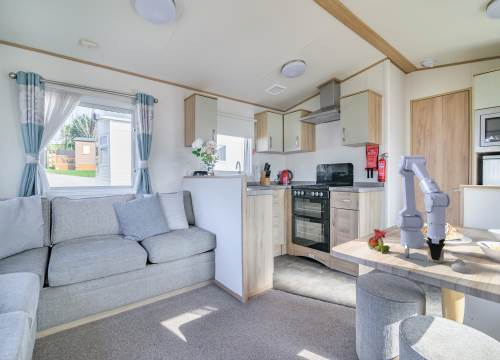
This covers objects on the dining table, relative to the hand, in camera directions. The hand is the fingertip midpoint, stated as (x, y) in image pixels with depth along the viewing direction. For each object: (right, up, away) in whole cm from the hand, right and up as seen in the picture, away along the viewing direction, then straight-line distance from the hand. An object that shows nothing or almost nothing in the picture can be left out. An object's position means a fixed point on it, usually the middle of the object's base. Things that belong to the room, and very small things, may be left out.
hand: (435, 257), depth 95 cm
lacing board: (-4, -2, +2) cm, 5 cm away
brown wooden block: (0, -1, 0) cm, 1 cm away
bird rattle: (-16, -2, +14) cm, 21 cm away
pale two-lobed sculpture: (+2, -3, -9) cm, 9 cm away
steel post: (-9, -1, +4) cm, 10 cm away
